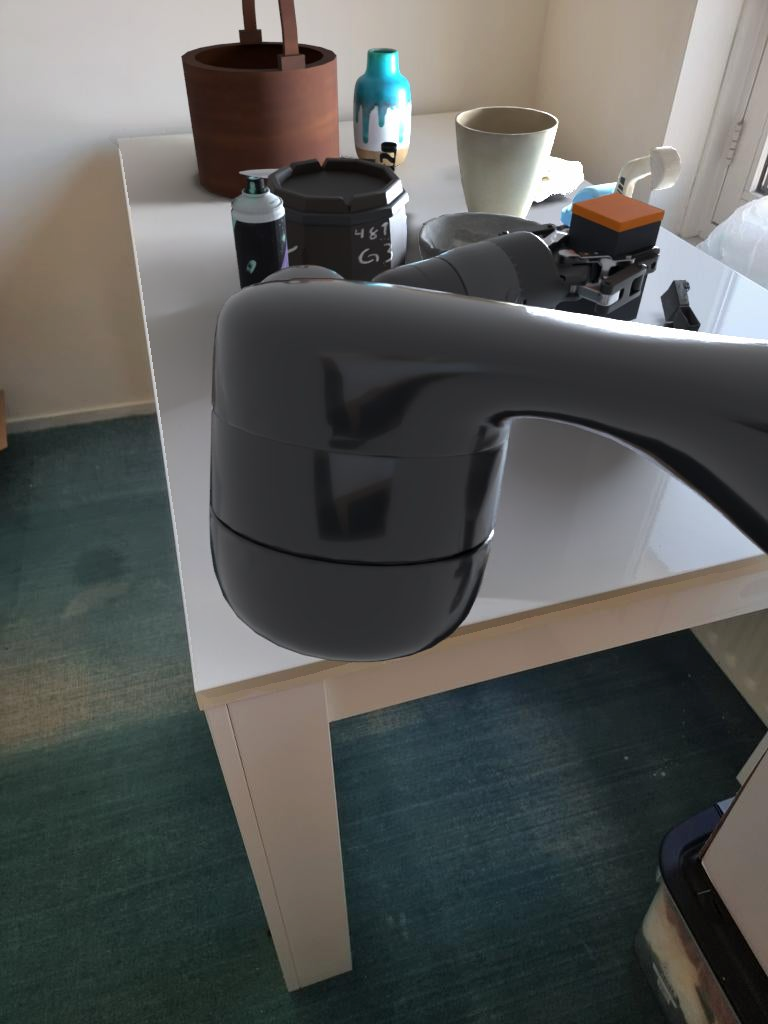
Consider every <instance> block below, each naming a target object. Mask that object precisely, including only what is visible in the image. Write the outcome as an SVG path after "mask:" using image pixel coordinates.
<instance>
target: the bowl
mask: <svg viewBox="0 0 768 1024" xmlns="http://www.w3.org/2000/svg"><path fill="white" fill-rule="evenodd" d="M535 225H542V223H540V222H537V221H534V220H531V219H528V218H525V219H523V218H520V217H515V216H511V215H505V214H495V213H479V212H468V211H464V212H455V213H446V214H442V215H439V216H437V217H433V218H431V219H429V220H427V221H425V222H423V223H422V226H421V228H420V229H419V233H418V249H419V254H420V256H421V259H422V260H426V259H430V258H433V257H436V256H438V255H440V254H442V253H444V252H446V251H449V250H451V249H454V248H457V247H461V246H465V245H468V244H472V243H476V242H480V241H483V240H487V239H491V238H495V237H498V232H499V231H502V230H509V229H516V228H522V227H529V226H535ZM538 237H539V238H540V239H541V238H542V235H539V236H538Z"/></svg>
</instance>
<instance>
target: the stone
mask: <svg viewBox="0 0 768 1024" xmlns="http://www.w3.org/2000/svg"><path fill="white" fill-rule="evenodd" d="M584 180H585V175H584V173H583V165H582V164H581V162H579V161H570V160H565V159H562V158H560V157H556V156H555V157H554V156H552V155H549V158H548V161H547V164H546V167H545V170H544V173H543V176H542V179H541V182H540V184H539V187H538V189H537V192H536V194H535V197H534V199H533V201H532V202H536V203H540V202H543V201H544V200H545V199H547V198H548V197H551V196H555V195H556V194H557V195H559V194H562V195H567V194H566V193H569V192H570V193H573V192H574V191H575V190H576V189H577V188H578V187H579V185H580V184H581V183H582V182H583V183H584ZM574 189H575V190H574ZM573 190H574V191H573ZM570 193H569V194H570ZM552 194H554V195H552ZM550 195H551V196H550Z"/></svg>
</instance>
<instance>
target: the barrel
mask: <svg viewBox="0 0 768 1024" xmlns="http://www.w3.org/2000/svg"><path fill="white" fill-rule="evenodd" d="M266 187H267V188H269V189H270V193H272V194H274V195H275V196H278V197H280V198H281V199H282V200H283V207H284V210H285V223H286V237H287V250H288V263H289V267H290V266H294V265H303V264H310V265H318V266H322V267H326V268H329V269H331V270H333V271H335V272H337V273H338V274H339V275H341V276H342V277H343V278H344V279H348V280H361V281H371V279H372V278H373V277H374V276H376V275H377V274H379V273H381V272H383V271H386V270H388V269H392V268H395V267H399V266H403V265H406V261H407V240H408V239H407V238H408V228H407V219H406V205H407V203H409V202H410V197H409V192H407V190H406V189H405V188H404V187H403V185H402V180H401V179H400V177H399V176H398V175H397V174H396V172H395V171H393V170H392V169H391V168H390V167H389V166H386V165H382V164H378V163H374V162H370V161H367V160H363V159H359V158H358V157H357V158H356V157H355V158H354V157H353V158H351V157H340V158H326V159H325V161H324V163H323V164H322V166H321V165H320V163H319V161H318V160H317V159H310V160H305V161H299V162H293V163H291V165H290V167H288V166H283V167H281V168H280V169H278V170H276V171H275V172H273V173H272V174H270V175H269V176H268V182H267V186H266Z"/></svg>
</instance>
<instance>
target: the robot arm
mask: <svg viewBox="0 0 768 1024" xmlns="http://www.w3.org/2000/svg"><path fill="white" fill-rule="evenodd" d="M541 224H542V223H541ZM557 226H558V225H556V224H554V223H549V222H548V223H543V224H542V225H535V226H529V227H522V228H516V229H509V230H502V231H499V232H498V237H495V238H491V239H487V240H483V241H480V242H476V243H472V244H468V245H465V246H461V247H457V248H454V249H451V250H449V251H446V252H444V253H442V254H440V255H438V256H436V257H433V258H430V259H426V260H423V259H422V260H419V261H415V262H411V263H408V264H405V265H403V266H399V267H395V268H392V269H388V270H386V271H383V272H381V273H379V274H377V275H376V276H374V277H373V278H372V279H371V281H361V280H348V279H344V278H343V277H342V276H341V275H339V274H338V273H337V272H335V271H333V270H331V269H329V268H326V267H322V266H318V265H310V264H303V265H294V266H290V267H286V268H283V269H280V270H278V271H276V272H274V273H272V274H271V275H269V276H268V277H266V278H265V279H264V280H263V281H262V282H260V283H256V284H253V285H250V286H247V287H244V288H242V289H239V290H237V291H235V292H234V293H232V294H231V295H230V296H229V297H228V298H227V299H226V300H225V301H224V303H223V304H222V306H221V308H220V310H219V311H218V314H217V316H216V320H215V321H216V322H215V329H214V335H213V347H212V364H211V367H212V369H211V371H212V372H211V393H210V394H211V396H210V397H211V398H210V399H211V402H210V403H211V407H212V409H211V414H210V416H211V418H210V419H211V420H210V455H209V456H210V459H209V461H210V462H209V463H210V465H209V504H208V506H209V507H208V508H209V509H208V515H209V516H208V520H209V521H208V523H209V526H208V527H209V547H210V555H211V559H212V560H211V561H212V568H213V571H214V575H215V578H216V580H217V583H218V586H219V589H220V591H221V594H222V597H223V599H224V600H225V601H226V603H227V604H228V606H229V607H230V608H231V610H232V611H233V613H234V614H235V616H236V618H237V619H239V621H241V622H242V623H243V624H245V626H246V627H248V628H249V629H250V630H251V631H252V632H254V633H255V634H256V635H258V636H259V637H261V638H263V639H264V640H266V641H268V642H269V643H272V644H274V645H275V646H277V647H279V648H282V649H284V650H287V651H290V652H293V653H295V654H299V655H301V656H305V657H311V658H316V659H321V660H326V661H331V662H345V663H347V662H348V663H376V662H378V663H379V662H386V661H390V660H391V661H392V660H395V659H401V658H407V657H411V656H414V655H417V654H419V653H422V652H424V651H427V650H429V649H432V648H434V647H435V646H438V645H439V644H441V642H443V641H444V640H446V639H447V638H449V637H451V635H453V634H454V633H455V631H457V630H458V628H459V627H460V626H461V625H462V624H463V623H464V621H466V619H467V618H468V616H469V615H470V612H471V610H472V608H473V607H474V604H475V602H476V600H477V598H478V595H479V593H480V591H481V588H482V586H483V582H484V579H485V576H486V573H487V569H488V565H489V561H490V557H491V551H492V547H493V541H494V536H495V535H494V534H495V527H496V522H497V518H498V510H499V504H500V499H501V492H502V487H503V480H504V475H505V474H504V473H505V468H506V463H507V456H508V450H509V444H510V432H511V428H512V423H513V422H514V420H518V419H538V420H545V421H550V422H555V423H560V424H566V425H570V426H573V427H576V428H579V429H582V430H584V431H587V432H590V433H594V435H595V434H596V435H599V436H602V437H604V438H607V439H610V440H612V441H615V442H616V443H618V444H620V445H621V446H623V447H625V448H627V449H629V450H630V451H632V452H633V453H636V454H637V455H639V456H640V457H642V458H643V459H645V460H647V461H648V462H649V463H651V464H652V465H654V466H656V467H657V468H659V469H660V470H661V471H663V472H664V473H666V474H667V475H669V476H670V477H672V478H673V479H675V480H676V481H677V482H679V483H680V484H682V485H684V486H685V487H686V488H688V489H689V490H690V491H692V492H693V493H694V494H695V495H696V496H697V497H699V498H700V499H701V500H703V501H704V502H706V503H707V504H708V505H709V506H710V507H711V508H713V509H714V510H715V511H716V512H717V513H719V514H720V515H721V516H722V517H723V518H724V519H725V520H726V521H728V522H729V523H730V524H731V526H733V527H734V528H735V529H736V530H737V531H739V532H740V533H741V534H742V535H743V536H744V537H746V539H747V540H749V541H750V542H751V543H752V544H753V545H755V547H757V549H759V550H760V551H761V552H762V553H763V554H764V555H766V556H767V557H768V339H757V338H749V337H739V336H729V335H720V334H712V333H706V332H699V331H698V332H692V331H684V330H678V329H675V328H672V327H665V326H658V325H653V324H652V325H651V324H645V323H639V322H634V321H633V322H632V321H628V322H627V321H621V320H615V319H608V318H602V317H596V316H590V315H583V314H577V313H571V312H565V311H559V310H555V306H556V305H557V304H559V303H560V302H565V301H577V300H579V299H581V298H582V297H583V298H585V299H588V300H591V301H593V302H596V306H595V312H596V313H598V314H609V313H610V312H612V311H614V310H615V309H617V308H619V307H620V306H622V305H624V304H626V303H627V302H629V301H631V300H632V299H634V298H636V297H637V296H639V295H640V292H641V286H642V282H643V278H644V275H647V274H648V275H649V274H652V273H655V272H656V271H657V267H658V263H659V260H660V256H661V254H660V253H661V248H660V247H658V246H656V245H655V246H653V245H651V246H648V247H645V248H642V249H639V250H635V251H632V252H629V253H626V254H621V255H616V256H612V255H608V254H607V253H606V252H605V251H604V250H596V251H582V252H576V251H575V250H573V249H571V248H569V247H567V243H568V242H569V240H570V236H568V234H569V228H566V229H563V230H562V231H556V229H557ZM539 235H542V238H541V239H540V238H539V237H538V236H539ZM595 262H596V265H595V270H594V274H593V279H592V281H591V282H589V281H590V277H591V272H592V263H595ZM613 266H618V269H617V273H615V274H613V275H611V276H608V274H609V269H610V268H611V267H613ZM648 275H647V276H648Z"/></svg>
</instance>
